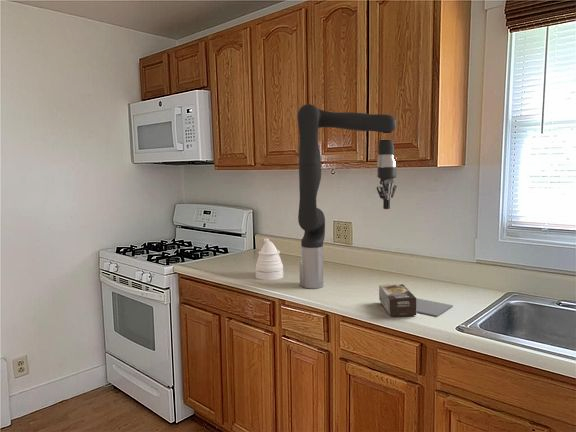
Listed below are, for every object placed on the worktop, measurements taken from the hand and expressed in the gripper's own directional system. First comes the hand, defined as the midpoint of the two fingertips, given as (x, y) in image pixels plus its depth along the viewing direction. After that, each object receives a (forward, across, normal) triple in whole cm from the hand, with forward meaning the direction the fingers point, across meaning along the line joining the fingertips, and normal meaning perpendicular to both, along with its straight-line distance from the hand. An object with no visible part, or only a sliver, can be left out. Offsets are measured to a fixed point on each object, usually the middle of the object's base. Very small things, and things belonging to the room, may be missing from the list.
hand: (386, 208), depth 180 cm
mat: (+33, +14, +22) cm, 42 cm away
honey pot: (+33, +15, -52) cm, 64 cm away
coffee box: (+29, +16, +11) cm, 35 cm away
